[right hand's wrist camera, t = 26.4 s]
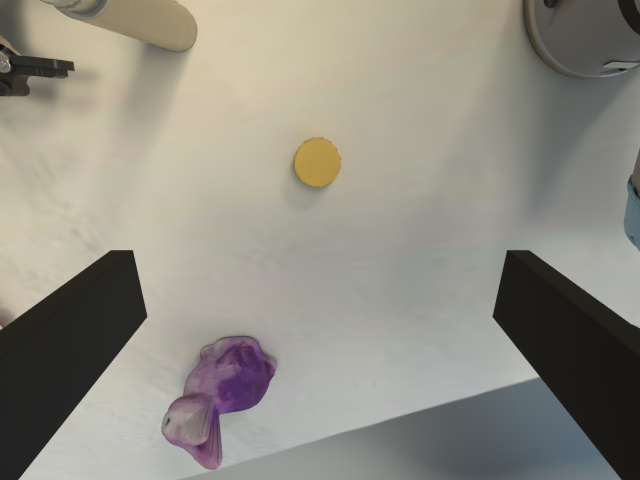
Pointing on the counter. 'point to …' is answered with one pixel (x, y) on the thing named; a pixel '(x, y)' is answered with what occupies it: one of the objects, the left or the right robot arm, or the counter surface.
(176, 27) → the jar
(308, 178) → the lid
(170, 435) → the figurine
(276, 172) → the counter surface
